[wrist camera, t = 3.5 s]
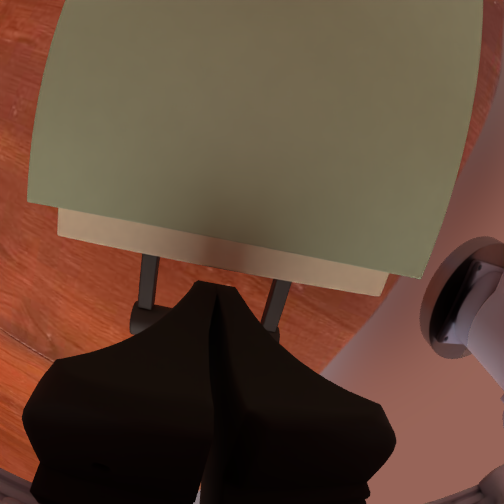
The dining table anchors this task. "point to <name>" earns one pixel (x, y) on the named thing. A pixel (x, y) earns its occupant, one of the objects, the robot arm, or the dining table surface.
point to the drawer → (213, 263)
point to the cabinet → (262, 120)
